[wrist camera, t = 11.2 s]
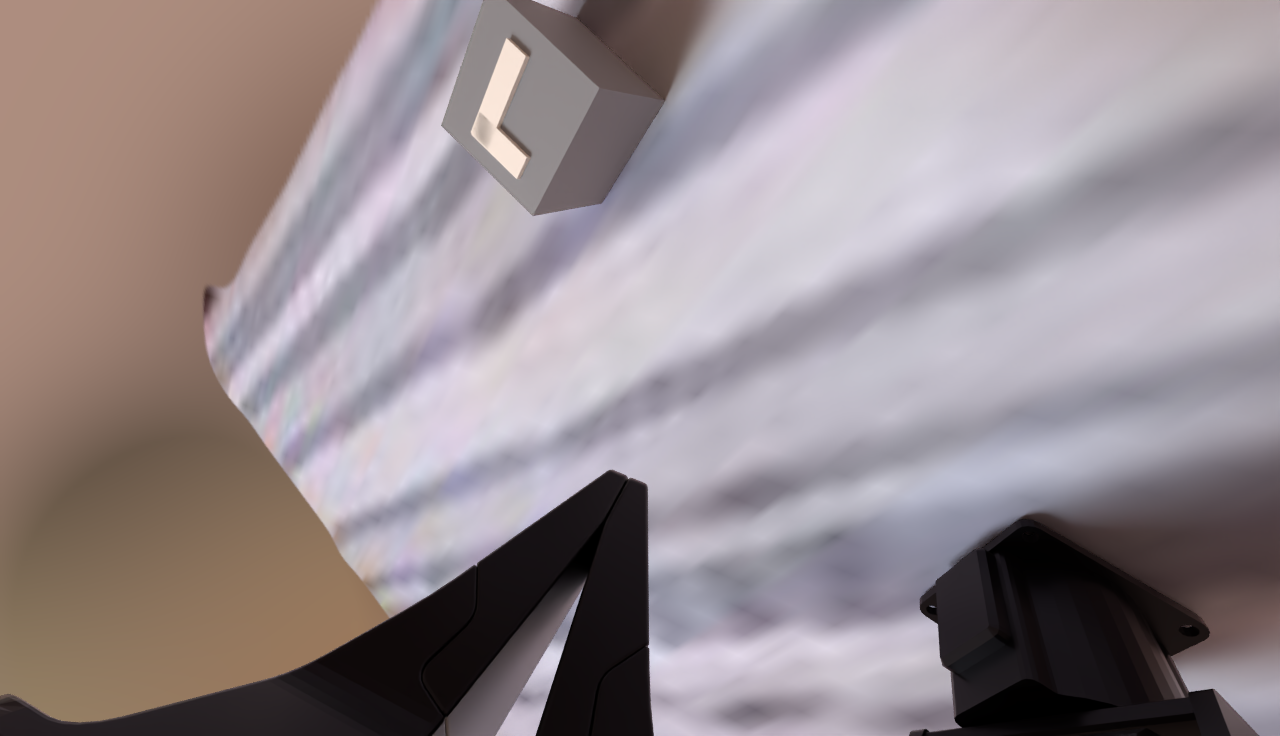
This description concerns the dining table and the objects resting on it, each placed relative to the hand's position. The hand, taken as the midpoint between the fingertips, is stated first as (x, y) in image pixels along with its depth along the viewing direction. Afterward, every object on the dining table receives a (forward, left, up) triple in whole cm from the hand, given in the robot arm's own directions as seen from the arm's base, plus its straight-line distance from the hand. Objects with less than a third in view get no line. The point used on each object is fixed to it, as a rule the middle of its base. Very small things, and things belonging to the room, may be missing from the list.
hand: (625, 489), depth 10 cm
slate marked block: (+11, -4, -13) cm, 17 cm away
